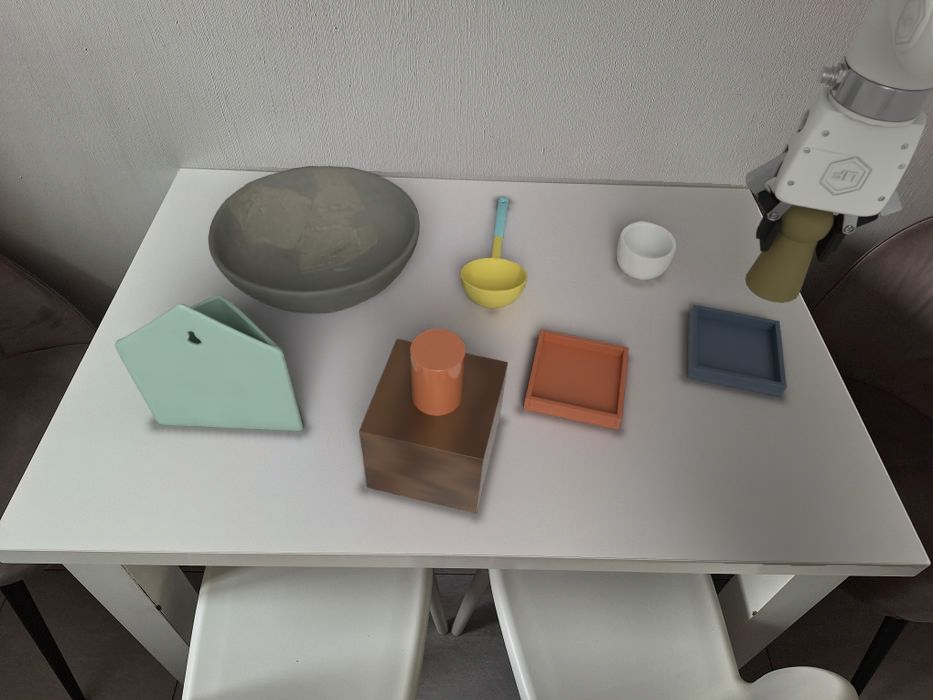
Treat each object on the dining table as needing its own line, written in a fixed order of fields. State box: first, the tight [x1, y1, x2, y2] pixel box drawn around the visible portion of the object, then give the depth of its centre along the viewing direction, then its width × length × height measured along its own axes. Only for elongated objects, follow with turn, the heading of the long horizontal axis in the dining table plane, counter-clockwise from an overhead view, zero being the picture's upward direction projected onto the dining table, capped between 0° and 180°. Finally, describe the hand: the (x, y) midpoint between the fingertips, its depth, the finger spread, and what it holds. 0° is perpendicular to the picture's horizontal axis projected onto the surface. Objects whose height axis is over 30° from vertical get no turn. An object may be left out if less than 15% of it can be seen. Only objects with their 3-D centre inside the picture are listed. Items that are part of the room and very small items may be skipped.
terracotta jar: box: [410, 328, 466, 416], centre depth 62 cm, size 5×5×7 cm
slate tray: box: [686, 304, 787, 398], centre depth 83 cm, size 11×11×2 cm
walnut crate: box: [358, 338, 509, 514], centre depth 68 cm, size 12×12×11 cm
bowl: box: [207, 165, 421, 314], centre depth 86 cm, size 26×26×10 cm
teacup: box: [616, 219, 677, 281], centre depth 92 cm, size 10×8×5 cm
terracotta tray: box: [522, 329, 630, 430], centre depth 79 cm, size 11×11×2 cm
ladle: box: [459, 196, 528, 309], centre depth 93 cm, size 9×26×6 cm, turn 174°
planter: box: [114, 294, 304, 432], centre depth 68 cm, size 16×8×20 cm, turn 89°
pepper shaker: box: [744, 205, 834, 304], centre depth 71 cm, size 6×6×11 cm
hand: (791, 247), depth 70 cm, fingers closed on pepper shaker, 5 cm apart
